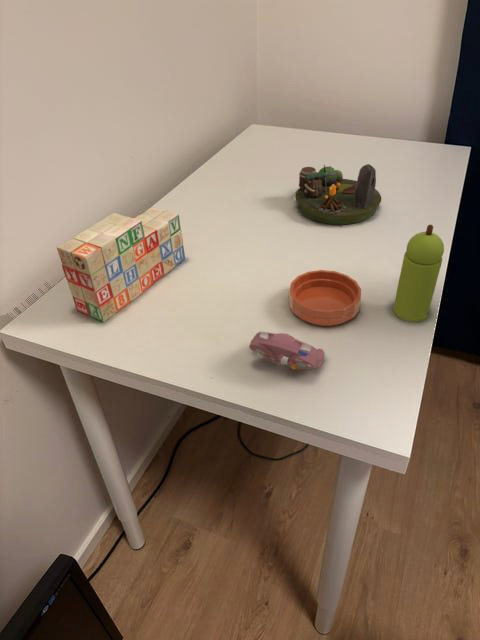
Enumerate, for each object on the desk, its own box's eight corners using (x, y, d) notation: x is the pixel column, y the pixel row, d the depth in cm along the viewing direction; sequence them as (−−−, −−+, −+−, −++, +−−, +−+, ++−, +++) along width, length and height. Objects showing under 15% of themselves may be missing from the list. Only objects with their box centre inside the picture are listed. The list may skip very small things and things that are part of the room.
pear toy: (435, 313, 75) (459, 226, 66) (411, 326, 73) (433, 238, 63) (409, 297, 79) (428, 212, 69) (386, 308, 77) (402, 223, 67)
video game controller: (252, 363, 70) (241, 345, 64) (263, 336, 72) (254, 315, 66) (317, 384, 67) (312, 367, 61) (328, 354, 68) (324, 334, 62)
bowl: (373, 310, 76) (376, 294, 74) (319, 337, 72) (321, 321, 70) (327, 278, 84) (328, 262, 81) (275, 301, 79) (275, 285, 77)
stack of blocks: (160, 251, 93) (150, 190, 85) (186, 259, 90) (178, 197, 82) (75, 311, 79) (54, 245, 71) (103, 323, 76) (84, 256, 68)
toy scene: (348, 236, 94) (354, 184, 88) (277, 209, 104) (278, 160, 98) (395, 203, 104) (404, 154, 97) (326, 182, 114) (330, 136, 107)
